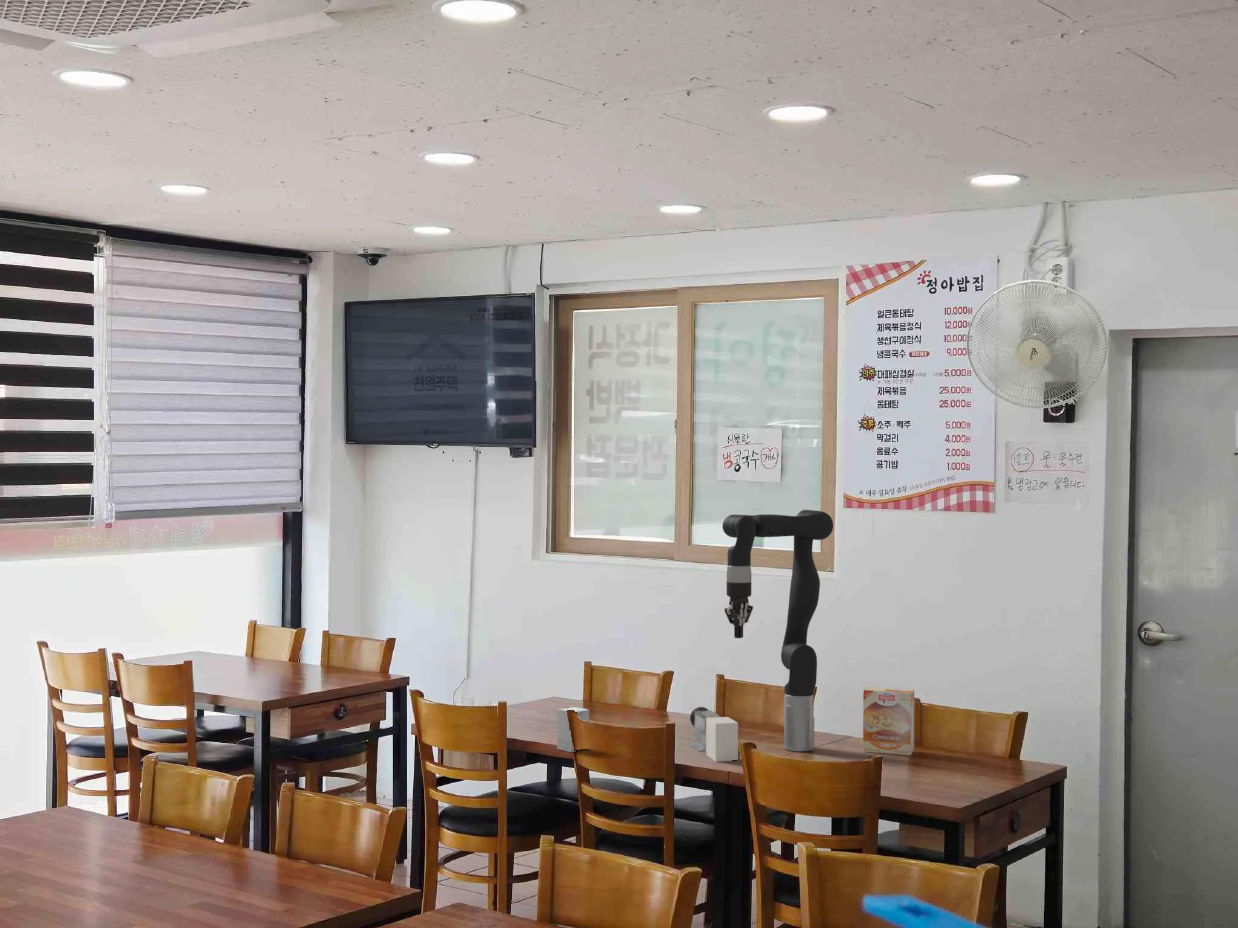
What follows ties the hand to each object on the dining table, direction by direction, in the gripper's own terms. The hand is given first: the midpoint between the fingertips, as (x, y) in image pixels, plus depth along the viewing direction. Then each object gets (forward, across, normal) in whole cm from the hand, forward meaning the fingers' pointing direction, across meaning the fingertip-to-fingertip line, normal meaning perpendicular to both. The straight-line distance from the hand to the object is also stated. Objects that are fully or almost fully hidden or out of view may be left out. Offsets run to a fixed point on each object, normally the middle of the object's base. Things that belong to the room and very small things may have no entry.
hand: (738, 637), depth 416 cm
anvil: (+37, +10, +18) cm, 42 cm away
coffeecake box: (+37, +40, -30) cm, 62 cm away
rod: (+32, +7, +15) cm, 36 cm away
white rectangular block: (+37, 0, +6) cm, 37 cm away
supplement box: (+37, -19, +49) cm, 64 cm away
